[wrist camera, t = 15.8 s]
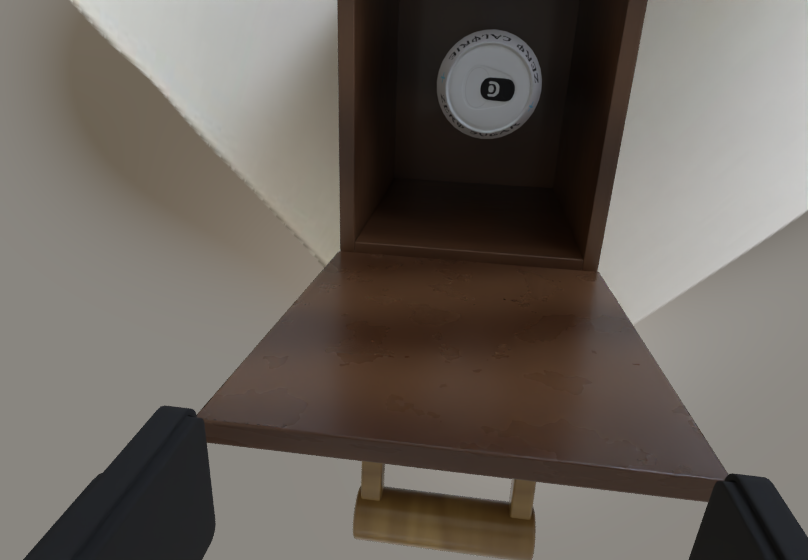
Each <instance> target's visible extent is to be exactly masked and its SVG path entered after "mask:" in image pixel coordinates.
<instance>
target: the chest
mask: <svg viewBox="0 0 808 560" xmlns="http://www.w3.org/2000/svg"><path fill="white" fill-rule="evenodd" d="M647 1H648V0H338V85H339V171H340V251H342V252H354V253H367V254H379V255H392V256H404V257H417V258H429V259H442V260H454V261H467V262H479V263H492V264H504V265H517V266H529V267H542V268H554V269H567V270H579V271H592V272H597V270H598V265H599V259H600V254H601V249H602V243H603V238H604V232H605V227H606V222H607V216H608V211H609V206H610V200H611V195H612V189H613V184H614V179H615V173H616V168H617V163H618V157H619V152H620V146H621V141H622V136H623V130H624V125H625V119H626V114H627V109H628V103H629V98H630V93H631V87H632V82H633V76H634V71H635V66H636V60H637V55H638V50H639V44H640V39H641V33H642V28H643V23H644V17H645V12H646V6H647ZM493 29H496V30H502V31H507V32H509V33H511V34H514V35H516V36H517V37H519V38H520V39H522V40H523V41H524V42H525V43H526V44H527V45H528V46H529V47H530V48H531V49H532V51H533V52H534V54H535V56H536V58H537V60H538V63H539V66H540V69H541V76H542V88H541V94H540V98H539V101H538V104H537V106H536V108H535V110H534V112H533V113H532V115H531V116H530V117H529V119H528V120H527V121H526V122H525V123H524V124H523V125H522V126H521V127H520V128H518V129H517V130H515V131H513V132H512V133H510V134H507V135H505V136H503V137H499V138H494V139H480V138H475V137H471V136H469V135H466V134H464V133H462V132H461V131H459V130H458V129H456V128H455V127H454V126H453V125H452V124H451V123H450V122H449V121H448V120H447V118H446V116H445V115H444V113H443V112H442V109H441V107H440V104H439V101H438V96H437V78H438V73H439V69H440V67H441V64H442V61H443V60H444V58H445V56H446V55H447V53H448V52H449V50H450V49H451V48H452V47H453V46H454V45H455V44H456V43H457V42H458V41H460V40H461V39H463V38H464V37H466V36H468V35H470V34H472V33H474V32H478V31H482V30H493Z"/></svg>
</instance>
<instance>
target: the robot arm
mask: <svg viewBox="0 0 808 560" xmlns="http://www.w3.org/2000/svg"><path fill="white" fill-rule="evenodd" d="M214 531H215V514H214V505H213V496H212V487H211V478H210V469H209V460H208V451H207V442H206V433H205V424H204V420H203V419H202V418H198V417H197V415H196V412H195V411H194V410H193V409H189V408H181V407H172V406H162V407H160V408H159V409H158V410H157V411H156V412H155V413H154V414H153V416H152V417H151V418H150V419H149V420H148V421H147V422H146V424H145V425H144V426H143V427H142V428H141V429H140V431H139V432H138V433H137V434H136V435H135V436H134V437H133V439H132V440H131V441H130V442H129V443H128V444H127V446H126V447H125V448H124V449H123V450H122V451H121V453H120V454H119V455H118V456H117V457H116V458H115V459H114V461H113V462H112V463H111V464H110V465H109V466H108V468H107V469H106V470H105V471H104V472H103V473H101V474H99V475H98V476H97V477H96V478H95V479H93V480H92V482H91V483H90V484H89V485H88V486H87V487H86V488H85V490H84V491H83V492H82V493H81V494H80V495H79V496H78V497H77V499H76V500H75V501H74V502H73V503H72V504H71V506H70V507H69V508H68V509H67V510H66V511H65V512H64V514H63V515H62V516H61V517H60V518H59V519H58V520H57V522H56V523H55V524H54V525H53V526H52V527H51V528H50V530H49V531H48V532H47V533H46V534H45V535H44V536H43V538H42V539H41V540H40V541H39V542H38V543H37V544H36V546H35V547H34V548H33V549H32V550H31V551H30V552H29V554H28V555H27V556H26V557H25V558H24V559H23V560H202V559H203V557H204V555H205V553H206V551H207V549H208V547H209V545H210V544H211V541H212V539H213V536H214ZM689 560H808V537H807V536H806V534H805V532H804V531H803V529H802V528H801V526H800V525H799V523H798V522H797V520H796V519H795V517H794V516H793V514H792V512H791V511H790V509H789V508H788V506H787V505H786V503H785V502H784V500H783V499H782V497H781V496H780V494H779V492H778V491H777V489H776V488H775V487H774V485H773V483H772V482H771V481H770V480H769V479H767V478H765V477H757V476H749V475H740V474H729V475H728V476H726V478H725V480H724V481H717V482H716V483H715V485H714V487H713V490H712V493H711V496H710V499H709V502H708V505H707V508H706V511H705V513H704V516H703V519H702V522H701V525H700V528H699V531H698V534H697V537H696V540H695V543H694V546H693V549H692V551H691V554H690V557H689Z"/></svg>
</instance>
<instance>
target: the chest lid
mask: <svg viewBox="0 0 808 560" xmlns="http://www.w3.org/2000/svg"><path fill="white" fill-rule="evenodd" d="M197 417H198V418H202V419H203V420H204V424H205V433H206V442H207V443H215V444H224V445H232V446H240V447H248V448H257V449H266V450H274V451H282V452H291V453H299V454H308V455H316V456H324V457H333V458H341V459H349V460H358V461H362V476H361V487H360V488H359V491H358V494H357V499H356V504H355V511H354V519H353V535H354V538H355V539H359V540H366V541H374V542H381V543H388V544H396V545H403V546H411V547H418V548H425V549H433V550H440V551H448V552H456V553H463V554H470V555H478V556H486V557H493V558H500V559H508V560H532V558H533V554H534V547H535V512H534V509H533V500H534V493H535V485H536V482H543V483H551V484H559V485H568V486H576V487H585V488H593V489H601V490H610V491H618V492H627V493H635V494H643V495H644V494H645V495H652V496H661V497H669V498H677V499H686V500H694V501H703V502H709V499H710V496H711V493H712V490H713V487H714V485H715V483H716V482H717V481H724V480H725V478H726V476H728V473H727V472H726V470H725V469H724V467H723V466H722V464H721V462H720V461H719V459H718V458H717V456H716V455H715V453H714V451H713V450H712V448H711V447H710V445H709V443H708V442H707V440H706V439H705V437H704V436H703V434H702V433H701V431H700V429H699V428H698V426H697V425H696V423H695V422H694V420H693V418H692V417H691V415H690V414H689V412H688V411H687V409H686V408H685V406H684V405H683V403H682V402H681V400H680V398H679V397H678V395H677V394H676V392H675V390H674V389H673V387H672V386H671V384H670V383H669V381H668V379H667V378H666V376H665V375H664V373H663V372H662V370H661V368H660V367H659V365H658V364H657V362H656V361H655V359H654V358H653V356H652V354H651V353H650V352H649V350H648V348H647V347H646V345H645V343H644V342H643V340H642V339H641V337H640V336H639V334H638V333H637V331H636V329H635V328H634V326H633V325H632V323H631V322H630V320H629V318H628V317H627V315H626V314H625V312H624V311H623V309H622V308H621V306H620V304H619V303H618V301H617V300H616V298H615V297H614V295H613V293H612V292H611V290H610V289H609V287H608V286H607V284H606V283H605V281H604V279H603V278H602V276H601V275H600V273H599V272H592V271H579V270H567V269H554V268H542V267H529V266H517V265H504V264H492V263H479V262H467V261H454V260H442V259H429V258H417V257H404V256H392V255H379V254H367V253H354V252H342V251H339V252H338V253H337V254H336V255H335V256H334V257H333V259H332V260H331V261H330V262H329V263H328V264H327V266H326V267H325V268H324V269H323V270H322V271H321V272H320V274H319V275H318V276H317V277H316V278H315V279H314V281H313V282H312V283H311V284H310V285H309V286H308V287H307V289H306V290H305V291H304V292H303V293H302V294H301V295H300V297H299V298H298V299H297V300H296V301H295V302H294V304H293V305H292V306H291V307H290V308H289V309H288V310H287V312H286V313H285V314H284V315H283V316H282V317H281V319H280V320H279V321H278V322H277V323H276V324H275V325H274V327H273V328H272V329H271V330H270V331H269V332H268V333H267V335H266V336H265V337H264V338H263V339H262V340H261V342H260V343H259V344H258V345H257V346H256V347H255V348H254V350H253V351H252V352H251V353H250V354H249V355H248V357H247V358H246V359H245V360H244V361H243V362H242V363H241V365H240V366H239V367H238V368H237V369H236V370H235V371H234V373H233V374H232V375H231V376H230V377H229V378H228V379H227V381H226V382H225V383H224V384H223V385H222V386H221V388H220V389H219V390H218V391H217V392H216V393H215V394H214V396H213V397H212V398H211V399H210V400H209V401H208V403H207V404H206V405H205V406H204V407H203V408H202V410H201V411H200V412H199V413H198V414H197ZM385 464H392V465H400V466H409V467H417V468H426V469H433V470H442V471H450V472H459V473H467V474H475V475H484V476H493V477H501V478H509V479H512V483H511V491H510V500H509V502H506V501H497V500H489V499H481V498H473V497H465V496H457V495H448V494H441V493H432V492H424V491H416V490H408V489H400V488H392V487H384V471H385Z"/></svg>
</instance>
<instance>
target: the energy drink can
mask: <svg viewBox="0 0 808 560" xmlns="http://www.w3.org/2000/svg"><path fill="white" fill-rule="evenodd" d="M541 88H542V76H541V69H540V66H539V63H538V60H537V58H536V56H535V54H534V52H533V51H532V49H531V48H530V47H529V46H528V45H527V44H526V43H525V42H524V41H523V40H522V39H520V38H519V37H517V36H516V35H514V34H511V33H509V32H507V31H502V30H496V29H493V30H482V31H478V32H474V33H472V34H470V35H468V36H466V37H464V38H463V39H461V40H460V41H458V42H457V43H456V44H455V45H454V46H453V47H452V48H451V49H450V50H449V52H448V53H447V55H446V56H445V58H444V60H443V61H442V64H441V67H440V69H439V73H438V78H437V96H438V101H439V104H440V107H441V109H442V112H443V113H444V115H445V116H446V118H447V120H448V121H449V122H450V123H451V124H452V125H453V126H454V127H455V128H456V129H458V130H459V131H461V132H462V133H464V134H466V135H469V136H471V137H475V138H480V139H494V138H499V137H503V136H505V135H507V134H510V133H512V132H513V131H515V130H517V129H518V128H520V127H521V126H522V125H523V124H524V123H525V122H526V121H527V120H528V119H529V117H530V116H531V115H532V113H533V112H534V110H535V108H536V106H537V104H538V101H539V98H540V94H541Z"/></svg>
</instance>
